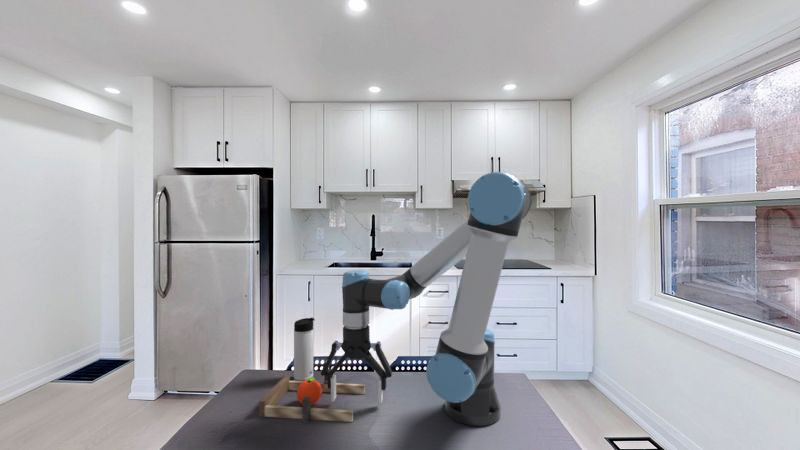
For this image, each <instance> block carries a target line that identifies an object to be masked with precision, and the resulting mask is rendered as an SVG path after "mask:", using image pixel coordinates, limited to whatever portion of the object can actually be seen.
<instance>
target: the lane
mask: <svg viewBox="0 0 800 450" xmlns="http://www.w3.org/2000/svg"><path fill="white" fill-rule="evenodd" d="M331 369H332V368H328V370H331ZM290 377H291V376H290V375H284V376H283V377H282V378H281V379H280V380H279V381H278V382H277V383H276V384H275V385H274V386H273V387H272V388H271V389H270V390H269V391H268V392H267V393H266V394H265V395H264V396H263V397H262V398H261V399H260V400H259V410H258V411H259V415H258V416H259V417H268V418H269V417H270V418H285V419H286V418H287V419H296V420H297V419H300V420H301V421H302V424H309V422H310V421H311V420H315V421H316V420H317V421H331V422H345V423H346V422H347V423H353V421H354V410H353V409H352V410H351V409H336V408H335V409H334V408H321V407H319V408H318V407H312V405H310V398H311V397H304V398H303V400H302V404H301V405H302V407H301V406H287V405H286V406H285V405H277V403H278V402H279V401H280V400H281V399H282V398H283V397H284V395H286V393H287V392H288V391H297V390H298V387H299V385H300V384H301V383H302V382H303V381H294V380H291V378H290ZM323 379H324V381H323V382H322V381H317V382H318V383H319V384H320V386H321V389H322V393H331V389H328V381H327V376H325V375H324V378H323ZM365 389H366V385H365V384H364V383H359V384H358V383H345V382H344V383H342V382H341V383H340V382H336V392H337V393H338V394H352V393H355V394H356V395H365V391H366V390H365ZM337 393H336V394H337ZM355 394H354V395H355Z"/></svg>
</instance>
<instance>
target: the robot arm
mask: <svg viewBox="0 0 800 450" xmlns="http://www.w3.org/2000/svg"><path fill="white" fill-rule="evenodd" d="M532 200H533V199H532V194H531V191H530V189H529V188H528V186H527V184H525V183H524V182H523V181H521V180H520V179H519V178H517V176H514V175H513V174H511V173H507V172H501V171H492V172H488V173H485V174H484V175H482V176H480V177H479V178H477V180H475V182H473V184H472V185H471V187H470V189H469V192H468V196H467V204H468V209H469V215H468V218H467V219H466V220H465V221H464V222H462V224H460V226H458V227H457V228H455V230H453V231H452V232H451V233H450V234H448V235H447V236H446V237H445V238H444V239H443V240H442V241H441V242H439V243H438V244H436V246H434V247H433V248H432V249H431V250H430V251H428V252H427V253H426V254H425V255H424V256H423V257H421V258H420V259H419V260H418V261H417V262H415V263H414V264H413V265H411V267H410V268H409V269H407V270H406V271H405V272H404V273H402V274H400V275H398V276H395V277H391V278H388V279H375V278H374V279H373V278H370V274H369V272H368V271H366V270H361V269H359V270H356V269H355V270H348V271H344V273H343V274H342V284H341V292H342V325H343V327H342V342H339V341H338V340H334V342H333V343H332V344H331V350H330V352H329V355H328V356H327V359H326V361H325V363H324V366H323V368H322V369H321V372H320V375H321V377H322V376H324V375H325V376H327V381H328V389H331V392H330V403H333V402H335V400H336V398H337V393H336V383H337V375H336V374H335V373H336V372H337V370H338V369H339V368H340V367H341V366H342V365H343V363H344V362H345V361H346V360H347V358H349V359H350V360H355V359H356V360H362V359H364V361H365V362H367V363H368V364H369V365H370V367H371V368H372V369H373V370H374V372H375V373H376V374H377V375H378V376H379V378H378V381H377V382H378V385H377V386H378V404H382V403H383V399H384V398H383V397H384V394H383V393H384V392H383V391H386V388H387V378H391V377H392V375H393V370H392V368H391V365H390V363H389V361H388V359H387V357H386V355H385V353H384V351H383V350H382V344H381V343H382V342H381V341H376V342H371V339H370V325H369V324H370V307H371V308H373V307H374V308H381V309H388V310H392V311H394V310H403V309H405V308H406V307H407V305H408V304H409V302H410V300H412V299H416V298H417V297H418V296H420V295H421V294H422V293H423V292H424V290H425V289H426V288H427V287H428V286H430V285H431V284H433V283H434V282H435V281H436V280H437V279H439V278H440V277H441V276H442V275H444V274H445V273H446V272H448V271H449V270H450V269H451V268H453V267H454V266H455V265H456V264H458V263H459V262H461V260H463V259H464V258H465V260H464V264H463V268H462V271H461V276H460V278H459V279H460V280H459V283H458V284H459V285H458V288H457V292H456V295H455V300H454V305H453V308H452V313H451V316H450V321H449V325H448V328H446V329H445V330H443V331H441V333H440V336H439V340H438V344H437V346H436V351H435V354H434V355H433V356H432V357H430V359H429V361H428V363H427V366H426V373H425V374H426V378H427V379H426V380H427V383H428V385H430V387H431V389H432V391H433V392H434V393H435V394H436V395H437V396H438V397H439V398H440V399H442V400H444V403H445V404H444V405H445V406H444V410H445V412H446V415H448V416H449V417H450V418H451V419H453V420H454V421H456V422H458V423H460V424H462V425H463V424H464V425H467V426H474V427H476V426H477V427H482V426H490V425H492V424H496V422H498V421H499V420H500V418H501V416H502V415H501V414H502V409H501V408H502V406H501V402H500V400H499V397H498V393H497V392H498V391H496V387H495V344H496V341H495V333H494V332H493V331H492V330H491V329H488V325H489V321H490V317H491V312H492V309H493V306H494V305H493V304H494V301H495V297H496V294H497V293H496V292H497V289H498V286H499V281H500V278H501V273H502V271H503V266H504V261H505V258H506V254H507V250H508V248H509V247H508V246H509V243H511V242H512V241H514V240H516V239H517V238H518V235H519V233H520V229H521V225H522V222H523V221H522V220H523V219H525V217H526V216H528V214H529V213H530V211H531V207H532V202H533V201H532ZM340 349H341V350H342V351H343V352H344V353H343V354H342V356H341V357H340V359H338V361H337V362H335V364H334V365H333V367H332V368H330V366H331V364H332V362H333V360H334V358H335V356H336V354H337V351H340ZM371 349H373V351H374V352H375V353H376V356H377V358H378V359H379V362H380V364H381V365H380V364H379V362H378V361H377V360H376V359H375V358H374V356H373V354H372V353H371V352H370V350H371ZM328 369H331V370H328Z"/></svg>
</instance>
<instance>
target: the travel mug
mask: <svg viewBox="0 0 800 450" xmlns="http://www.w3.org/2000/svg"><path fill="white" fill-rule="evenodd" d="M314 321H315V318H314V317H307V318H300V319H297V320H295V321H294V323H293V324H294V325H293V326H294V328H293V331H294V332H293V381H305V380H307V379H310V378H314Z"/></svg>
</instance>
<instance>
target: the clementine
mask: <svg viewBox="0 0 800 450" xmlns="http://www.w3.org/2000/svg"><path fill="white" fill-rule="evenodd" d="M318 382H319V381H318V378H317V377H313V378H310V379H307V380H305V381H303V382H302V383H301V384H300V385H299V387H298V390H296V396H297V397H296V398H297V400H298V402H299V403H300V404H301V405H302V400H303V398H304V397H311V398H310V406H313V405H315V404H317V403H318V401H319V400H320V399H321V396H322V393H323V392H322V389H321V386H320V384H319V383H318Z"/></svg>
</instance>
